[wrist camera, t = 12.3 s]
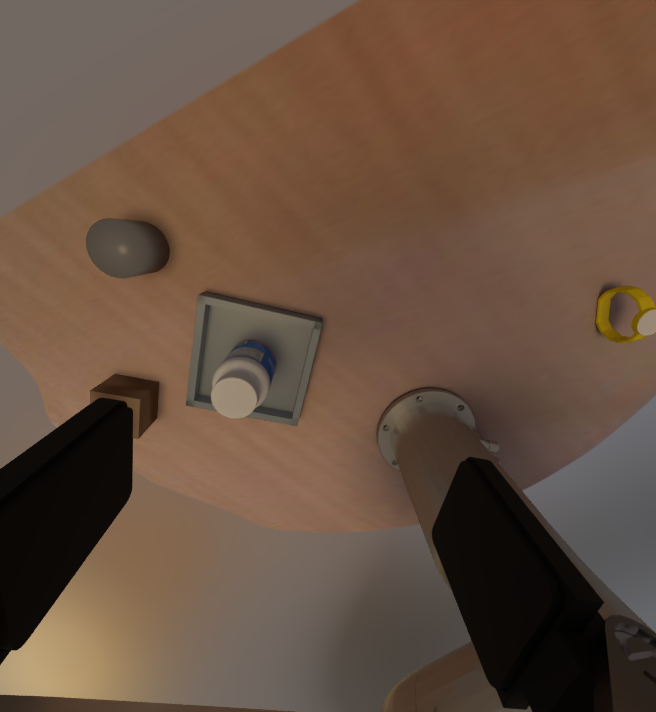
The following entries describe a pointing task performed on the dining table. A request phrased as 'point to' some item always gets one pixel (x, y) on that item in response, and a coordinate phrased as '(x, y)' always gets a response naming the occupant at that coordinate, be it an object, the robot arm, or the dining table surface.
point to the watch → (642, 323)
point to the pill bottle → (243, 379)
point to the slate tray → (262, 323)
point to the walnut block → (132, 398)
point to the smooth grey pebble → (126, 247)
